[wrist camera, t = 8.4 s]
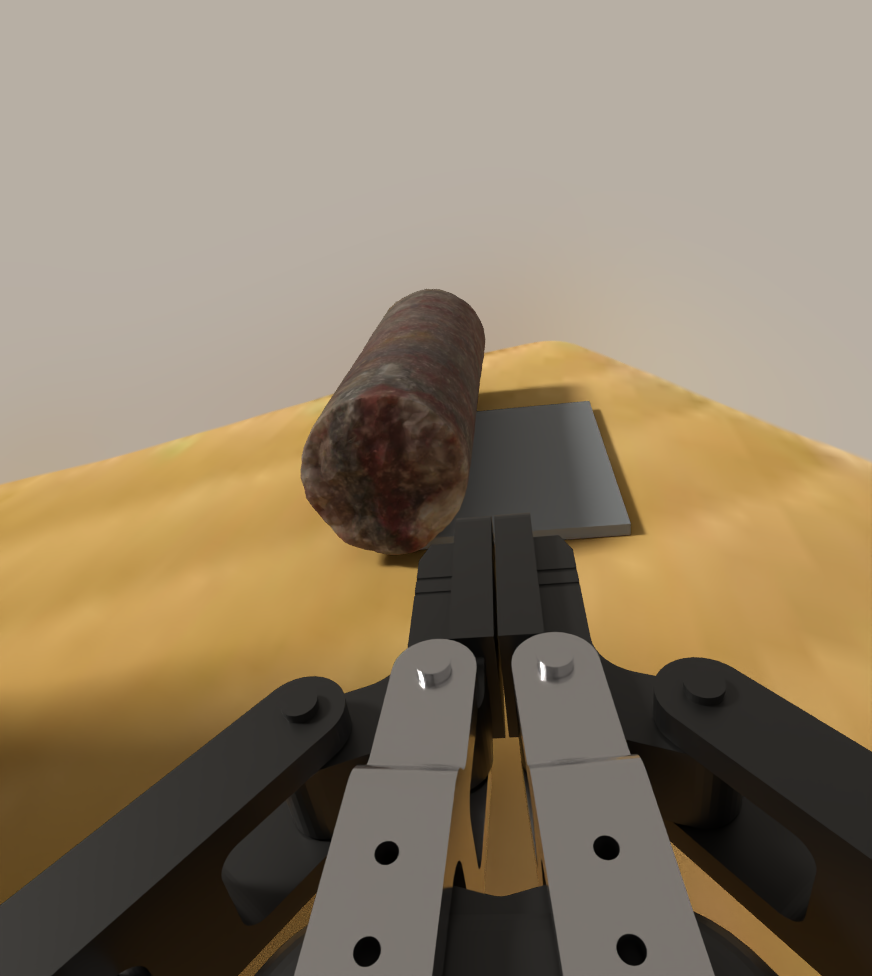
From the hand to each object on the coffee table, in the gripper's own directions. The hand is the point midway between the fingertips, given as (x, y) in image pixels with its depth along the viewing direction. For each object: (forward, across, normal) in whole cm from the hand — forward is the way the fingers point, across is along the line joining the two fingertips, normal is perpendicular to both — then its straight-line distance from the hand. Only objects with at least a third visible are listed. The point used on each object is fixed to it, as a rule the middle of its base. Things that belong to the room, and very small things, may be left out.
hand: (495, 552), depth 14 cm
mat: (+22, 0, +10) cm, 24 cm away
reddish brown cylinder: (+13, +5, +6) cm, 15 cm away
